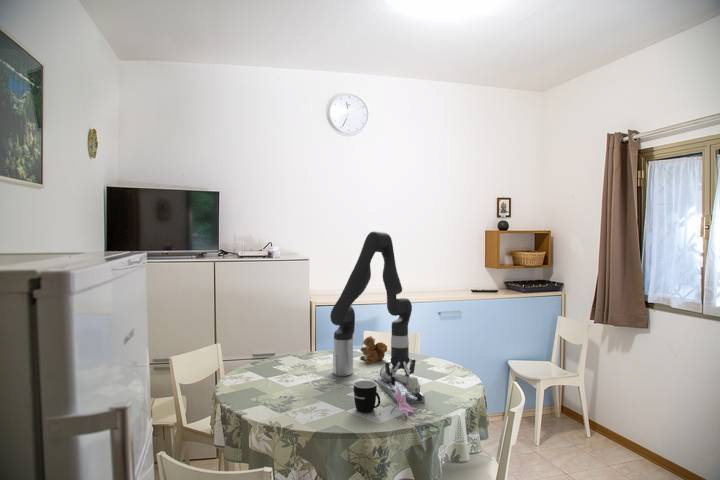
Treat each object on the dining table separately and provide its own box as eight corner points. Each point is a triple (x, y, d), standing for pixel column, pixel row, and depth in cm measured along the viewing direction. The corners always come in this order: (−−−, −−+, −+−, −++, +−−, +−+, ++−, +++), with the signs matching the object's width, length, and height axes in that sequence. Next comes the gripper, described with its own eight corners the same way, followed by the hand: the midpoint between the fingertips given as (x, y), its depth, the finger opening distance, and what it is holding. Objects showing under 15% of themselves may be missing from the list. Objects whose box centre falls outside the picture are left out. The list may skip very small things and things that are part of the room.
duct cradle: (424, 402, 182) (424, 386, 182) (399, 405, 179) (399, 389, 179) (396, 377, 213) (396, 364, 213) (374, 380, 210) (374, 366, 210)
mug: (348, 410, 174) (348, 384, 174) (364, 403, 181) (364, 378, 181) (371, 419, 166) (371, 391, 166) (387, 411, 173) (387, 385, 172)
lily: (395, 426, 162) (408, 404, 161) (374, 405, 170) (386, 384, 169) (412, 426, 171) (425, 405, 170) (392, 406, 179) (404, 385, 178)
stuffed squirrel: (358, 359, 245) (358, 335, 245) (383, 357, 248) (383, 333, 248) (363, 364, 236) (363, 339, 235) (388, 362, 239) (388, 337, 239)
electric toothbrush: (387, 368, 206) (422, 375, 185) (388, 383, 205) (423, 391, 184) (378, 369, 203) (412, 377, 182) (379, 385, 202) (413, 394, 181)
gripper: (412, 341, 199) (412, 379, 199) (381, 344, 195) (381, 383, 195) (418, 345, 192) (419, 385, 192) (387, 348, 188) (387, 388, 188)
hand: (400, 383), depth 194 cm, fingers closed on electric toothbrush, 5 cm apart
